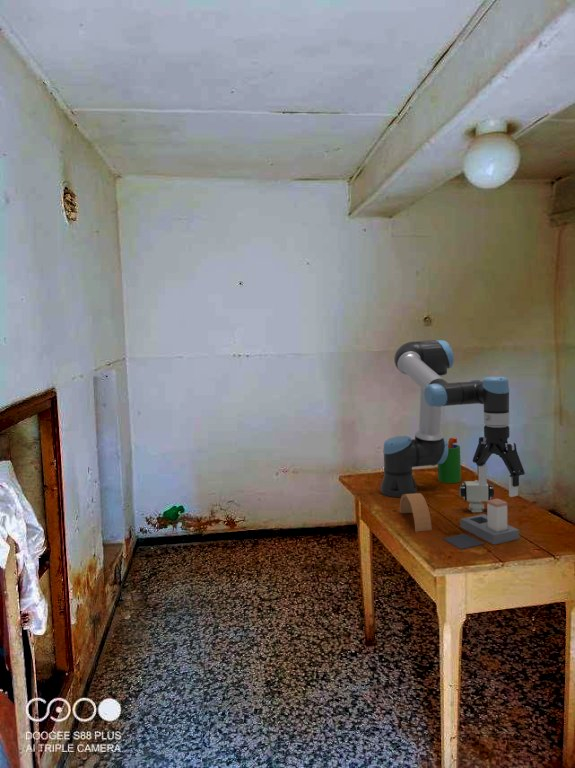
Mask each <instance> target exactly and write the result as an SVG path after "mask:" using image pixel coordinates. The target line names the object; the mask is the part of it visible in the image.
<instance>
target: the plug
mask: <svg viewBox="0 0 575 768" xmlns="http://www.w3.org/2000/svg"><path fill="white" fill-rule="evenodd" d="M486 503H487V504H486V505H487V508H486V509H487V514H486V515H487V517H488V528H489V529H491V530H493V531H495V532H500V531H505V530H507V525H508V502H507V501H505V500H504V499H503V500H502V499H500V498H493V499H490V500H487V501H486Z"/></svg>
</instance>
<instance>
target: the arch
mask: <svg viewBox="0 0 575 768" xmlns="http://www.w3.org/2000/svg"><path fill="white" fill-rule="evenodd" d="M398 509H399V511H398V512H399V513H400V514H412V515H413V521H414V532H415V533H416V534H417V533H420V532H422V531H423V532H425V531H432V529H433V527H432V519H431V518H432V517H431V514H430V510H429V506H428V504H427V501H426V499H425V497H424V496H423V494H422V493H421V492H420V493H419V492H417V493H415V494H403V495H402V497H400V500H399V508H398Z"/></svg>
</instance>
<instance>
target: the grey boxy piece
mask: <svg viewBox="0 0 575 768" xmlns="http://www.w3.org/2000/svg"><path fill="white" fill-rule="evenodd" d="M459 520H460V521H459V523H460V528H461V529H463V530H465V531H467V532H469V533H471V534H473V535H474V536H476V537H478V538H480V539H482V540H484V541H486V542H488V543H490V544H492V545H500V544H503V543H507V542H511V541H516V540H519V539H520V529H518V528H516V527H514V526H511V525H509V524H507V530H505V531H500V532H495V531H493V530H491V529H489V528H488V517H487V514H485V513H481V514H477V515H471V516H467V517H463V518H460V519H459Z"/></svg>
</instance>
